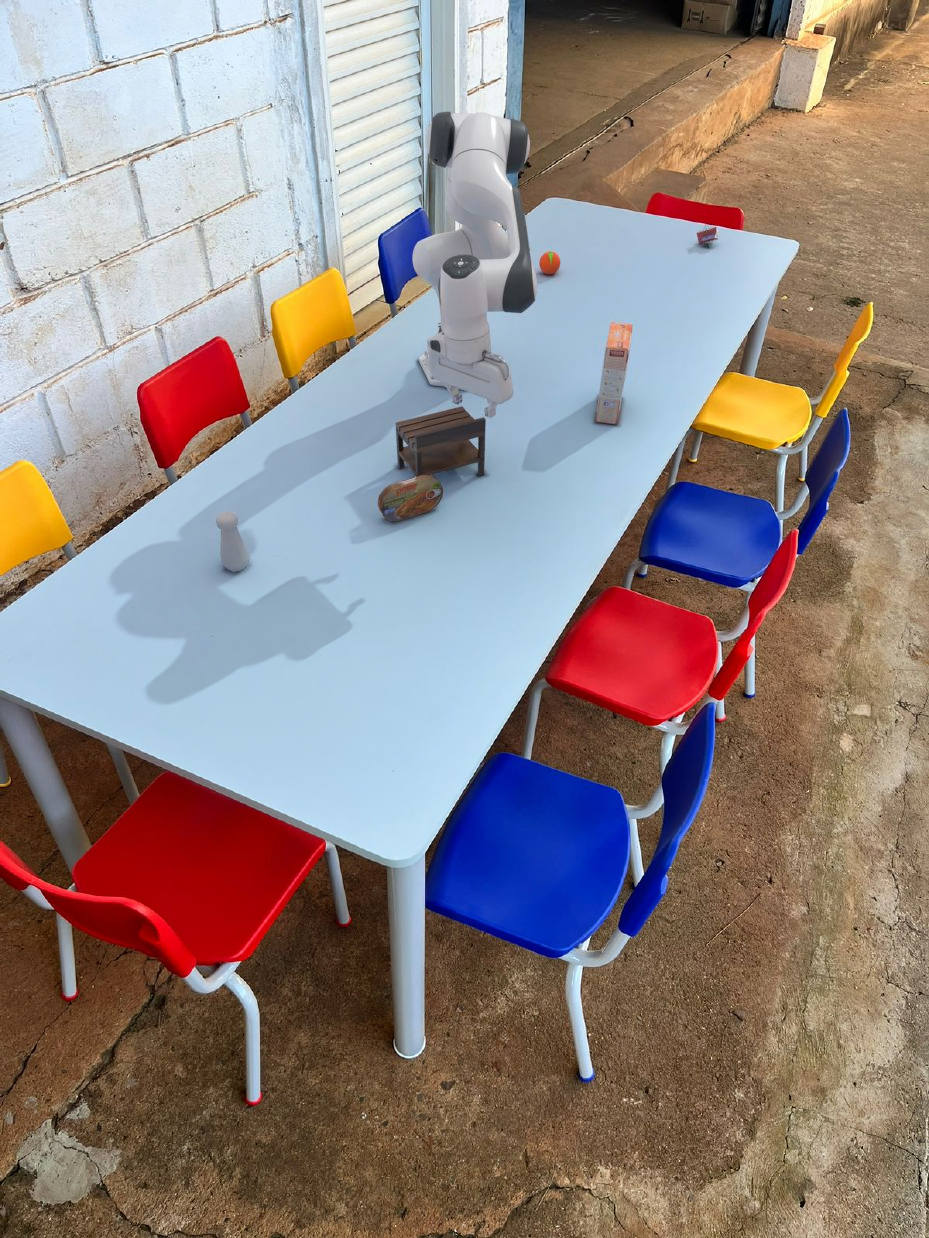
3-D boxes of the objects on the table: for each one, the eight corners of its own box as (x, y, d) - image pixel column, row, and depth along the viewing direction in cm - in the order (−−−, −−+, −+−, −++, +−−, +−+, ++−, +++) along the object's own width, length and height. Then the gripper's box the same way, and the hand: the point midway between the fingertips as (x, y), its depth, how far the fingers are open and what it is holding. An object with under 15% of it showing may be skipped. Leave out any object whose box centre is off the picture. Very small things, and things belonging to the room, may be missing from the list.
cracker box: (618, 426, 226) (629, 349, 212) (594, 423, 227) (604, 346, 213) (622, 398, 236) (633, 323, 222) (599, 395, 237) (609, 320, 223)
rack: (397, 466, 213) (394, 411, 202) (461, 449, 218) (462, 394, 208) (418, 493, 205) (416, 437, 194) (484, 475, 210) (485, 419, 200)
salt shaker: (237, 578, 183) (226, 528, 174) (216, 568, 185) (204, 518, 176) (256, 562, 187) (246, 512, 178) (235, 553, 189) (224, 503, 180)
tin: (382, 526, 196) (380, 494, 190) (377, 518, 198) (374, 486, 192) (444, 507, 201) (443, 476, 195) (437, 500, 203) (437, 469, 197)
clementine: (560, 279, 291) (562, 257, 286) (539, 279, 291) (540, 257, 286) (558, 269, 296) (560, 247, 291) (538, 269, 296) (539, 247, 291)
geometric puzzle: (691, 241, 309) (709, 223, 304) (691, 234, 314) (708, 216, 309) (706, 255, 311) (724, 238, 306) (705, 247, 316) (723, 230, 311)
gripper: (518, 352, 169) (521, 417, 178) (443, 327, 181) (450, 389, 190) (496, 365, 166) (500, 431, 175) (420, 338, 177) (428, 401, 187)
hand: (473, 409), depth 183 cm, fingers open, 8 cm apart
